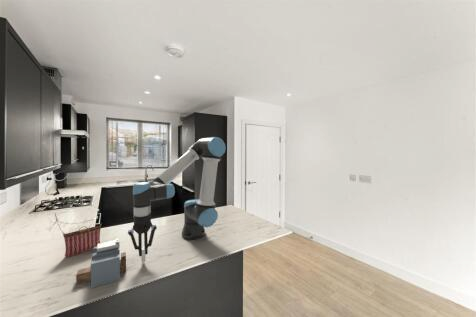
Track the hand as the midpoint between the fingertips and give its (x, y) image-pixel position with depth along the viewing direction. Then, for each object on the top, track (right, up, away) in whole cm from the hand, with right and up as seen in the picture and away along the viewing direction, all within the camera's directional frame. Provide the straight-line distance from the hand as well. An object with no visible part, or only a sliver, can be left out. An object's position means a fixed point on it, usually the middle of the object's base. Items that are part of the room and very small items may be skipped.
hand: (143, 261), depth 96 cm
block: (-13, -1, -8) cm, 15 cm away
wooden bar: (-15, -1, -9) cm, 18 cm away
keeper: (-12, +9, -8) cm, 17 cm away
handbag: (-38, -1, +8) cm, 39 cm away
